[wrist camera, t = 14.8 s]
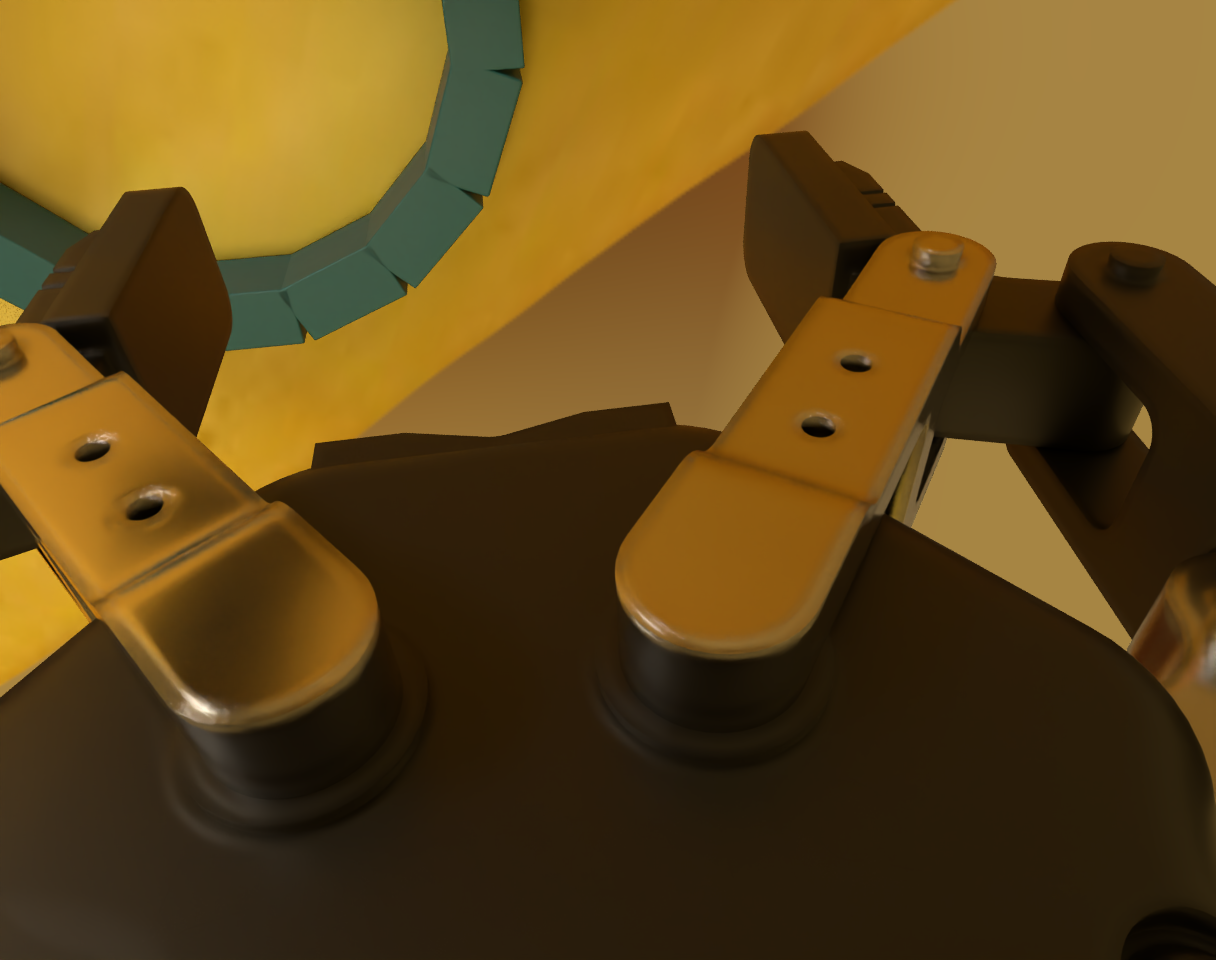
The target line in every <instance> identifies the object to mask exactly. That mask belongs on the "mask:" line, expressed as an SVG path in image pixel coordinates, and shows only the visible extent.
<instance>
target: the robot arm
mask: <svg viewBox="0 0 1216 960" xmlns="http://www.w3.org/2000/svg"><path fill="white" fill-rule="evenodd" d="M743 243H744V245H743V247H744V260H745V266H746V271H747V274H748V277H749V279H750V281H751V283H752V285H753V287H754V289H755V291H756V293H757V294H758V296H759V298H760V300H761V302H762V304H763V306H764V307H765V309H766V311H767V313H768V315H769V317H770V318H771V320H772V322H773V324H774V326H775V328H776V330H777V332H778V333H779V335H780V337H781V339H782V341H783V343H784V346H783V348H782V349H781V350H780V352H779V353H778V355H777V356H776V357H775V359H774V360H773V362H772V363H771V364H770V366H769V367H768V368H767V370H766V371H765V373H764V374H763V375H762V377H761V378H760V380H759V381H758V383H757V384H756V385H755V387H754V388H753V389H752V391H751V392H750V394H749V395H748V396H747V398H746V399H745V401H744V402H743V403H742V405H741V406H740V408H739V409H738V410H737V412H736V413H735V415H734V416H733V417H732V419H731V420H730V422H729V423H728V424H727V426H726V427H725V429H724V430H723V431H722V432H721V431H716V430H712V429H707V428H701V427H694V426H686V425H676V422H675V419H674V416H673V413H672V410H671V407H670V404H669V402H666V403H658V404H650V405H642V406H632V407H624V408H615V409H607V410H598V411H589V412H583V413H579V414H576V415H572V416H569V417H565V418H562V419H558V420H555V421H551V422H548V423H545V424H541V425H538V426H534V427H531V428H528V429H524V430H520V431H517V432H513V433H510V434H507V435H502V436H496V437H478V436H457V435H435V434H416V433H400V434H392V435H383V436H374V437H365V438H357V439H348V440H340V441H331V442H322V443H315V448H314V454H313V460H312V466H311V469H307V470H304V471H300V472H298V473H295V474H292V475H290V476H287V477H284V478H282V479H279V480H277V481H275V482H273V483H271V484H269V485H266V486H264V487H262V488H260V489H259V490H257V491H255V492H254V491H253V490H252V489H251V488H250V487H249V486H248V485H247V484H246V483H245V482H244V481H243V480H242V479H240V478H239V477H238V476H237V475H236V474H235V473H234V472H233V471H232V470H231V469H230V468H229V467H227V466H226V465H225V464H224V463H223V462H222V461H221V460H220V459H219V458H218V457H217V456H216V455H214V454H213V453H212V452H211V451H210V450H209V449H208V448H207V447H206V446H205V445H204V444H203V443H202V442H200V441H199V440H198V439H197V438H196V437H197V434H198V431H199V428H200V425H201V422H202V419H203V416H204V413H205V410H206V407H207V404H208V401H209V398H210V395H211V392H212V389H213V386H214V383H215V380H216V377H217V374H218V371H219V368H220V365H221V362H222V359H223V356H224V353H225V350H226V347H227V344H228V341H229V338H230V335H231V332H232V322H233V320H232V309H231V303H230V298H229V295H228V291H227V288H226V285H225V283H224V280H223V277H222V274H221V272H220V269H219V266H218V264H217V261H216V258H215V255H214V253H213V250H212V247H211V245H210V242H209V239H208V236H207V234H206V231H205V228H204V225H203V223H202V220H201V217H200V215H199V212H198V209H197V207H196V204H195V202H194V200H193V198H192V197H191V195H190V193H189V192H188V191H187V190H186V189H185V188H183V187H173V188H162V189H151V190H140V191H129V192H125V193H124V194H123V195H122V197H121V198H120V200H119V202H118V203H117V205H116V206H115V208H114V209H113V211H112V212H111V214H110V215H109V217H108V218H107V220H106V222H105V223H104V225H103V226H102V228H101V229H100V230H96V231H93V232H91V233H90V234H88V235H87V236H85V237H84V238H83V239H81V240H80V241H78V242H77V243H75V244H74V245H72V246H71V247H69V248H68V249H66V251H65V252H64V254H63V255H62V256H61V258H60V259H59V261H58V262H57V264H56V265H55V267H54V268H53V273H50V274H49V275H48V277H47V278H46V280H45V281H44V283H43V284H42V290H38V291H37V293H36V294H35V296H34V297H33V299H32V300H31V301H30V303H29V304H28V306H27V307H26V309H25V310H24V312H23V313H22V315H21V316H20V317H19V319H18V320H17V322H16V323H15V324H7V325H2V326H0V560H3V559H6V558H9V557H12V556H15V555H18V554H21V553H24V552H27V551H30V550H33V549H37V551H38V552H39V554H40V555H41V556H42V558H43V559H44V561H45V562H46V564H47V565H48V566H49V568H50V569H51V570H52V572H53V573H54V575H55V576H56V577H57V579H58V580H59V581H60V583H61V584H62V586H63V587H64V588H65V590H66V591H67V592H68V594H69V595H70V597H71V598H72V599H73V601H74V602H75V603H76V605H77V606H78V608H79V609H80V610H81V612H82V613H83V614H84V616H85V617H86V619H87V620H88V621H89V624H88V625H87V626H86V627H84V628H83V629H82V630H81V631H80V632H78V633H77V634H76V635H75V636H74V637H72V638H71V639H70V640H69V641H68V642H66V643H65V644H64V645H63V646H62V647H60V648H59V649H58V650H57V651H56V652H54V653H53V654H52V655H51V656H50V657H48V658H47V659H46V660H45V661H44V662H42V663H41V664H40V665H39V666H38V667H36V668H35V669H34V670H33V671H32V672H30V673H29V674H28V675H27V676H26V677H24V678H23V679H22V680H21V681H20V682H18V683H17V684H16V685H15V686H14V687H12V688H11V689H10V690H9V691H8V692H6V693H5V694H4V695H3V696H2V697H0V960H1216V286H1215V285H1214V284H1212V283H1211V282H1210V281H1209V280H1208V279H1206V278H1205V277H1204V276H1203V275H1202V274H1200V273H1199V272H1198V271H1197V270H1196V269H1194V268H1193V267H1192V266H1191V265H1190V264H1188V263H1187V262H1185V261H1184V260H1182V259H1180V258H1178V257H1177V256H1175V255H1172V254H1170V253H1168V252H1165V251H1162V250H1159V249H1156V248H1153V247H1149V246H1145V245H1140V244H1134V243H1126V242H1099V243H1092V244H1088V245H1084V246H1082V247H1079V248H1077V249H1076V250H1074V251H1073V252H1072V253H1071V254H1070V256H1069V258H1068V262H1067V264H1066V267H1065V270H1064V273H1063V276H1062V279H1061V281H1048V280H1034V279H1018V278H1006V277H999V276H994V272H995V268H996V259H995V257H994V255H993V254H992V253H991V252H990V251H989V250H988V249H987V248H986V247H984V246H983V245H981V244H979V243H977V242H975V241H973V240H971V239H968V238H965V237H962V236H959V235H955V234H950V233H944V232H936V231H921V230H920V229H919V228H918V227H917V226H916V225H915V224H914V222H913V221H912V220H911V219H910V218H909V217H908V216H907V215H906V214H905V213H904V211H903V210H902V209H901V208H900V207H899V206H895V202H894V201H893V199H891V197H890V196H889V195H888V194H887V193H883V189H882V188H881V186H880V185H879V184H878V183H877V182H876V181H875V180H874V179H873V178H872V177H871V175H870V174H868V173H866V172H864V171H862V170H860V169H858V168H856V167H854V166H852V165H850V164H848V163H846V162H843V161H836V162H834V161H833V160H832V159H831V158H830V157H829V156H828V154H827V153H826V152H825V151H824V150H823V148H822V147H821V146H820V145H819V144H818V143H817V141H816V140H815V139H814V138H813V137H812V136H811V135H810V133H809V132H807V131H796V132H786V133H774V134H763V135H756V136H755V137H754V139H753V142H752V145H751V149H750V157H749V170H748V184H747V197H746V211H745V225H744V240H743ZM1143 405H1144V406H1145V407H1146V409H1147V411H1148V413H1149V416H1150V419H1151V423H1152V442H1151V446H1150V449H1148V448H1147V447H1146V445H1145V444H1144V443H1143V442H1142V441H1141V439H1140V438H1139V437H1138V436H1137V435H1136V434H1135V432H1134V431H1133V430H1132V427H1133V426H1134V423H1135V421H1136V419H1137V417H1138V415H1139V413H1140V410H1141V408H1142V406H1143ZM947 438H954V439H964V440H974V441H985V442H996V443H1005V444H1006V446H1007V450H1008V452H1009V454H1010V456H1011V457H1012V459H1013V460H1014V462H1015V463H1016V465H1017V466H1018V468H1019V469H1020V471H1021V472H1022V474H1023V475H1024V477H1025V478H1026V480H1027V481H1028V483H1029V485H1030V486H1031V488H1032V489H1033V490H1034V492H1035V494H1036V495H1037V497H1038V498H1039V499H1040V501H1041V503H1042V504H1043V506H1044V507H1045V509H1046V510H1047V512H1048V513H1049V515H1050V516H1051V518H1052V519H1053V521H1054V522H1055V524H1056V525H1057V527H1058V528H1059V530H1060V531H1061V533H1062V534H1063V536H1064V537H1065V539H1066V540H1067V542H1068V543H1069V545H1070V546H1071V548H1072V550H1073V551H1074V552H1075V554H1076V556H1077V557H1078V559H1079V560H1080V562H1081V563H1082V565H1083V566H1084V568H1085V569H1086V571H1087V572H1088V574H1089V575H1090V577H1091V578H1092V579H1093V581H1094V583H1095V584H1096V586H1097V587H1098V589H1099V590H1100V592H1101V593H1102V595H1103V596H1104V598H1105V599H1106V601H1107V602H1108V604H1109V605H1110V607H1111V608H1112V610H1113V611H1114V613H1115V615H1116V616H1117V618H1118V619H1119V621H1120V622H1121V623H1122V625H1123V627H1124V628H1125V629H1126V631H1127V633H1128V634H1129V636H1130V637H1131V639H1132V641H1131V643H1130V645H1129V646H1128V648H1127V651H1125V650H1124V649H1123V648H1121V647H1120V646H1119V645H1117V644H1116V643H1115V642H1113V641H1112V640H1111V639H1109V638H1107V637H1106V636H1104V635H1102V634H1101V633H1099V632H1097V631H1096V630H1094V629H1092V628H1091V627H1089V626H1087V625H1085V624H1084V623H1082V622H1080V621H1078V620H1076V619H1075V618H1073V617H1071V616H1069V615H1067V614H1066V613H1064V612H1062V611H1060V610H1058V609H1057V608H1055V607H1053V606H1051V605H1049V604H1047V603H1046V602H1044V601H1042V600H1040V599H1038V598H1036V597H1035V596H1033V595H1031V594H1029V593H1028V592H1026V591H1024V590H1022V589H1020V588H1019V587H1017V586H1015V585H1013V584H1011V583H1010V582H1008V581H1006V580H1004V579H1002V578H1001V577H999V576H997V575H995V574H993V573H992V572H989V571H988V570H986V569H984V568H983V567H981V566H979V565H977V564H975V563H974V562H972V561H970V560H968V559H966V558H965V557H963V556H961V555H959V554H957V553H955V552H954V551H952V550H950V549H948V548H946V547H945V546H943V545H941V544H939V543H937V542H935V541H934V540H932V539H930V538H928V537H926V536H925V535H923V534H921V533H919V532H918V531H916V530H914V529H912V528H911V526H912V524H913V522H914V519H915V517H916V514H917V512H918V509H919V507H920V505H921V502H922V500H923V498H924V495H925V493H926V490H927V488H928V485H929V483H930V481H931V478H932V476H933V474H934V471H935V469H936V466H937V464H938V462H939V459H940V457H941V454H942V452H943V450H944V446H945V443H946V440H947Z"/></svg>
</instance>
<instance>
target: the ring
mask: <svg viewBox="0 0 1216 960" xmlns="http://www.w3.org/2000/svg"><path fill="white" fill-rule="evenodd" d="M442 6H443V13H444V21H445V28H446V35H447V42H448V52H447V56H446V61H445V65H444V69H443V73H442V77H441V81H440V85H439V90H438V94H437V98H436V102H435V106H434V110H433V114H432V118H431V123H430V127H429V131H428V135H427V139H426V142H425V143H424V144H423V146H422V147H421V148H420V150H419V151H418V152H417V153H416V155H415V156H414V157H413V159H412V160H411V161H410V163H409V164H408V165H407V166H406V168H405V169H404V170H403V172H402V173H401V174H400V175H399V177H398V178H397V179H396V181H395V182H394V183H393V184H392V186H391V187H390V188H389V190H388V191H387V192H386V194H385V195H384V196H383V197H382V199H381V200H380V201H379V203H378V204H377V205H376V206H375V208H374V209H373V210H372V212H371V213H370V214H368V215H366V216H364V217H362V218H360V219H358V220H357V221H355V222H353V223H351V224H349V225H347V226H345V227H343V228H341V229H339V230H337V231H335V232H333V233H332V234H330V235H328V236H326V237H324V238H322V239H320V240H318V241H316V242H314V243H312V244H310V245H308V246H307V247H305V248H303V249H301V250H299V251H297V252H295V253H293V254H290V255H279V256H268V257H256V258H245V259H234V260H223V261H217V264H218V266H219V269H220V272H221V274H222V277H223V280H224V283H225V285H226V288H227V291H228V295H229V298H230V303H231V309H232V320H233V322H232V332H231V335H230V338H229V341H228V344H227V347H226V350H225V351H230V350H241V349H251V348H261V347H271V346H282V345H292V344H302V343H304V342H305V338H306V334H307V331H308V332H309V334H310V335H311V336H312V337H313V339H314V340H317V339H319V338H321V337H323V336H325V335H327V334H329V333H331V332H333V331H335V330H337V329H339V328H341V327H343V326H345V325H347V324H349V323H351V322H353V321H355V320H357V319H359V318H361V317H363V316H365V315H367V314H369V313H371V312H373V311H375V310H377V309H379V308H381V307H383V306H385V305H387V304H389V303H391V302H393V301H395V300H397V299H399V298H401V297H403V296H405V295H407V285H408V284H410V285H411V286H413V287H414V288H416V287H417V286H418V285H419V284H420V283H421V281H422V280H423V279H424V278H425V277H426V275H427V274H428V273H429V272H430V271H431V269H432V268H433V267H434V266H435V265H436V264H437V262H438V261H439V260H440V259H441V258H442V256H443V255H444V254H445V253H446V252H447V250H448V249H449V248H450V247H451V246H452V244H453V243H454V242H455V241H456V240H457V239H458V237H459V236H460V235H461V234H462V233H463V231H464V230H465V229H466V228H467V227H468V225H469V224H470V223H471V222H472V221H473V220H474V218H475V217H476V216H477V215H478V214H479V212H480V211H481V210H482V209H483V198H482V195H483V196H487V197H488V196H489V195H490V192H491V188H492V185H493V182H494V178H495V175H496V172H497V168H498V165H499V161H500V158H501V155H502V151H503V148H504V145H505V141H506V138H507V134H508V131H509V128H510V124H511V121H512V117H513V114H514V111H515V107H516V104H517V101H518V97H519V94H520V90H521V87H522V84H523V83H522V77H521V73H520V68H524V66H525V65H524V53H523V42H522V30H521V18H520V7H519V0H442ZM87 235H88V234H87V233H86V232H84V231H82V230H80V229H79V228H77V227H75V226H74V225H72V224H70V223H68V222H67V221H65V220H63V219H62V218H60V217H58V216H56V215H55V214H53V213H51V212H50V211H48V210H46V209H44V208H43V207H41V206H39V205H38V204H36V203H34V202H32V201H31V200H29V199H27V198H26V197H24V196H22V195H20V194H19V193H17V192H15V191H14V190H12V189H10V188H8V187H7V186H5V185H3V184H2V183H0V298H2V299H3V300H5V301H7V302H9V303H11V304H13V305H15V306H17V307H19V308H21V309H23V310H25V309H26V307H27V306H28V304H29V303H30V301H31V300H32V299H33V297H34V296H35V294H36V293H37V291H38V290H42V284H43V283H44V281H45V280H46V278H47V277H48V275H49V274H50V273H53V268H54V267H55V265H56V264H57V262H58V261H59V259H60V258H61V256H62V255H63V254H64V252H65V251H66V249H68V248H69V247H71V246H72V245H74V244H75V243H77V242H78V241H80V240H81V239H83V238H84V237H85V236H87Z"/></svg>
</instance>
